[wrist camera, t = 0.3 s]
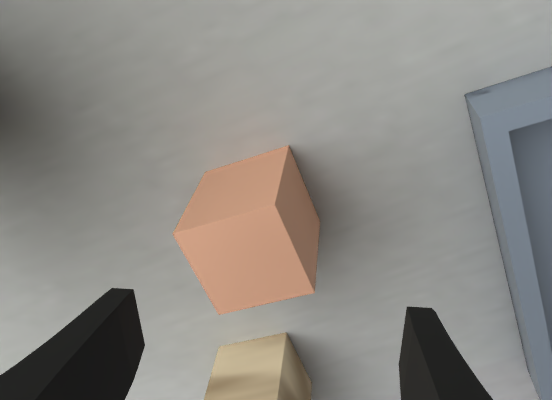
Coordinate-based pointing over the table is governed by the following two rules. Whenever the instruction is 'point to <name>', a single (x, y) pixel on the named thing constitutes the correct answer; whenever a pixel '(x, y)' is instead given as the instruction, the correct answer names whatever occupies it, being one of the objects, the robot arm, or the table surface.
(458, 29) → the table surface
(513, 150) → the slate tray
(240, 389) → the maple block
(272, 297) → the terracotta block
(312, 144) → the table surface
